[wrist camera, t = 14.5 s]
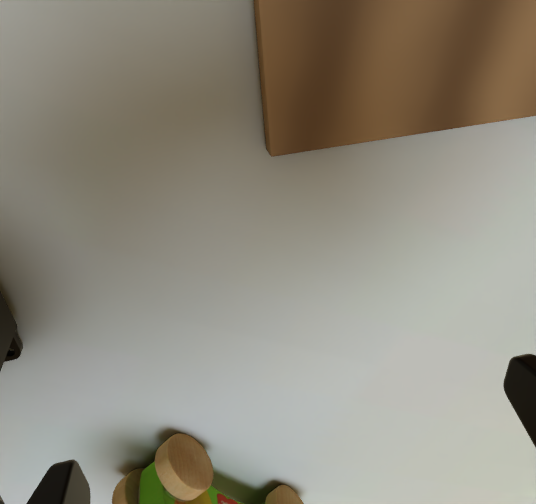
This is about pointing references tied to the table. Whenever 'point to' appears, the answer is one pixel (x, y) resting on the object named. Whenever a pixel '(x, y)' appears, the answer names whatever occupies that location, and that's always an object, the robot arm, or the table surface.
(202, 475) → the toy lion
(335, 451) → the table surface
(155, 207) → the table surface
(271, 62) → the walnut board
